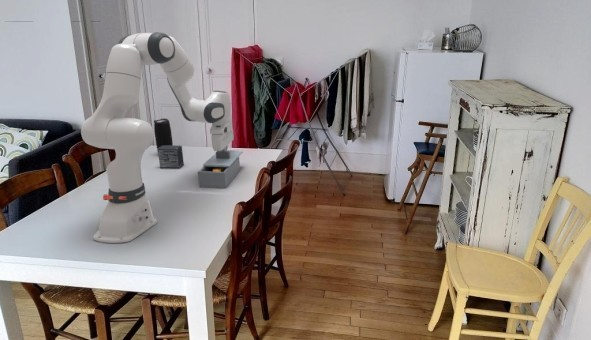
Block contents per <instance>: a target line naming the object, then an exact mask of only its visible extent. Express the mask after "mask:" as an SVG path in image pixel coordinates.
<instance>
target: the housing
mask: <svg viewBox="0 0 591 340" xmlns="http://www.w3.org/2000/svg"><path fill="white" fill-rule="evenodd" d="M214 168H219V167H209V166H202V167H201V168H200V169H199V170H198V171H197V176H198V177H197V179H198V187H199V188H210V189H211V188H213V189H227V188H228V187H229V185H230V184H231V182H233V180H235V178H236V176H237V175H238V174H239V173H240V172H241V165H240V156H239V157H238V158H237V159H236V160H235V161H234V163H233V164H232V165H231V166H230V167H227V168H226V170H225V171H224V172H213V169H214Z"/></svg>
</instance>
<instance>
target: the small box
mask: <svg viewBox="0 0 591 340" xmlns="http://www.w3.org/2000/svg"><path fill="white" fill-rule="evenodd" d="M183 154H184V153H183V146H182V145H173V146H170V145H162V146H161V147H159V148H158V151H157V155H158V161H159V167H160V169H181V168H182V167H183V166H184V165H185V161H184V155H183Z"/></svg>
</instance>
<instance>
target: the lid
mask: <svg viewBox="0 0 591 340" xmlns="http://www.w3.org/2000/svg"><path fill="white" fill-rule="evenodd" d="M243 153H244V151H243V150H235V149H233V150H232V149H231V150H230V149H227V151H215V153H214V154H213V155H212V156H210V157H209V158H208V159H207V161H205V162H204V163H203V164H202V167H204V166H209V167H230V166H231V165H232V164H233V163H234V161H235V160H236V159H237V158H238V157H239V158H240V156H241V155H242V154H243Z"/></svg>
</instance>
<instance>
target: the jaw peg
mask: <svg viewBox="0 0 591 340" xmlns="http://www.w3.org/2000/svg"><path fill="white" fill-rule="evenodd" d="M213 172H221V169H220V168H214V169H213Z"/></svg>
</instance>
